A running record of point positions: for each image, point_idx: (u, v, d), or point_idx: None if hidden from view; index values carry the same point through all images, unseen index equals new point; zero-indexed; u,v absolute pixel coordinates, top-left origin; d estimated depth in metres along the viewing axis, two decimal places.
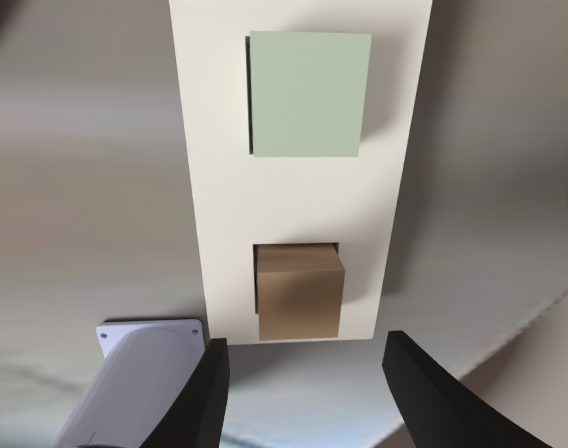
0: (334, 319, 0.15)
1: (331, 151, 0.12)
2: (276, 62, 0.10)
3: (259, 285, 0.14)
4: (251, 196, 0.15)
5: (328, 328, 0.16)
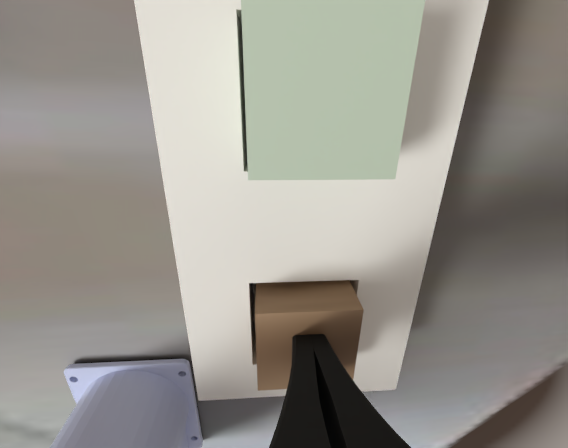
0: (348, 365, 0.13)
1: (358, 171, 0.08)
2: (281, 43, 0.07)
3: (257, 328, 0.11)
4: (247, 224, 0.11)
5: None
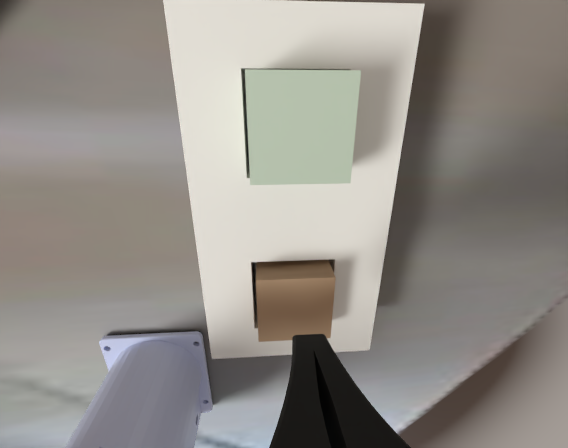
0: (327, 321, 0.17)
1: (324, 178, 0.12)
2: (270, 98, 0.11)
3: (258, 291, 0.16)
4: (249, 217, 0.15)
5: (321, 330, 0.17)
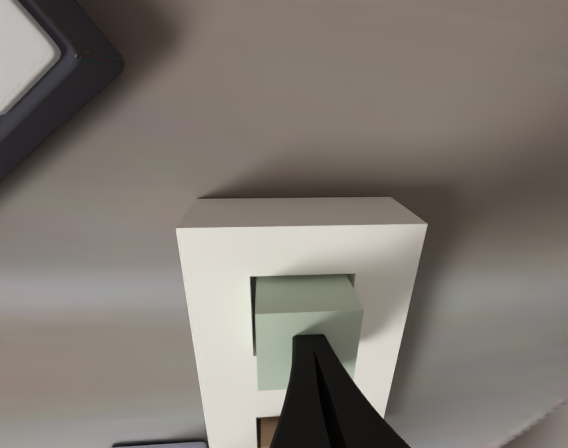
0: None
1: None
2: (278, 331, 0.12)
3: None
4: (255, 384, 0.16)
5: None
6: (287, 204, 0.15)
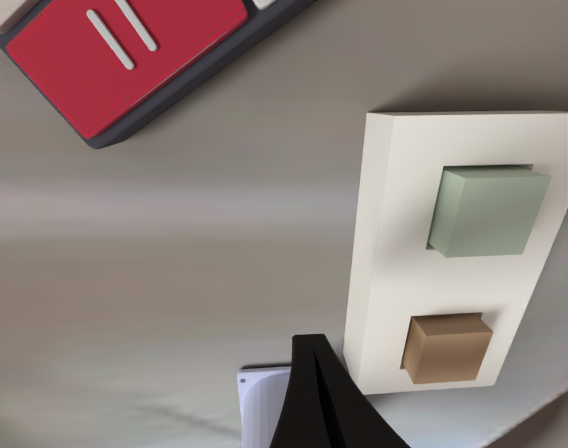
0: (476, 367, 0.19)
1: (503, 251, 0.15)
2: (479, 197, 0.14)
3: (425, 344, 0.18)
4: (419, 280, 0.18)
5: (470, 373, 0.19)
6: (456, 112, 0.17)
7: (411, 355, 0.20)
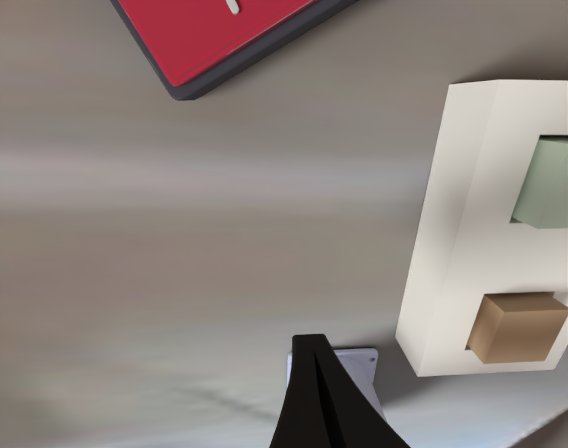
0: (548, 347, 0.19)
1: None
2: None
3: (501, 321, 0.18)
4: (497, 256, 0.17)
5: (540, 354, 0.19)
6: None
7: (480, 334, 0.19)
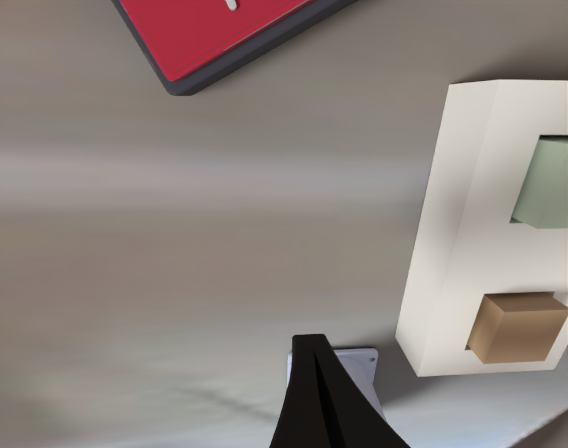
0: (548, 347, 0.19)
1: None
2: None
3: (501, 321, 0.18)
4: (497, 256, 0.17)
5: (540, 354, 0.19)
6: None
7: (480, 334, 0.19)
